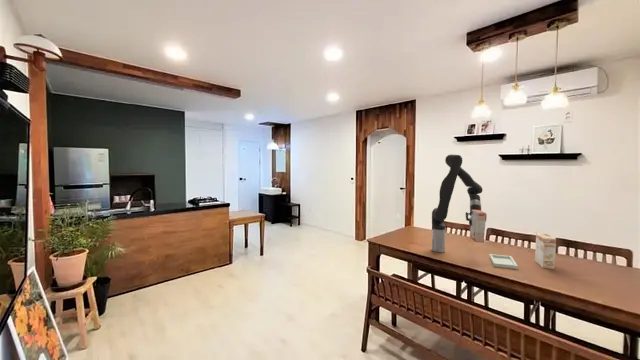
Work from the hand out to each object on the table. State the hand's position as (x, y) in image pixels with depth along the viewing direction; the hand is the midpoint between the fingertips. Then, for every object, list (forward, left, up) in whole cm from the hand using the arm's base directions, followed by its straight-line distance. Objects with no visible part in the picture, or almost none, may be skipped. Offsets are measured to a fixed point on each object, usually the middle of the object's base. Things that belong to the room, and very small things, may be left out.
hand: (476, 225), depth 214 cm
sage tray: (+16, -7, -23) cm, 29 cm away
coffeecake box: (+41, -1, -23) cm, 47 cm away
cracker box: (0, -2, -10) cm, 10 cm away
